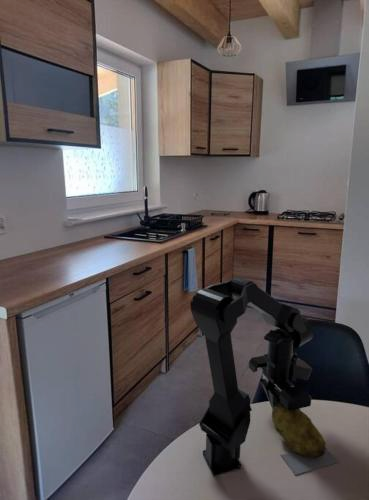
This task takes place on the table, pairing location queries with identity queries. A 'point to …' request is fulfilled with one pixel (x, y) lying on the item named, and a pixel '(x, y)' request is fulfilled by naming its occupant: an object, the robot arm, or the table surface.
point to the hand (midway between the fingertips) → (275, 410)
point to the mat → (308, 461)
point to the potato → (298, 431)
